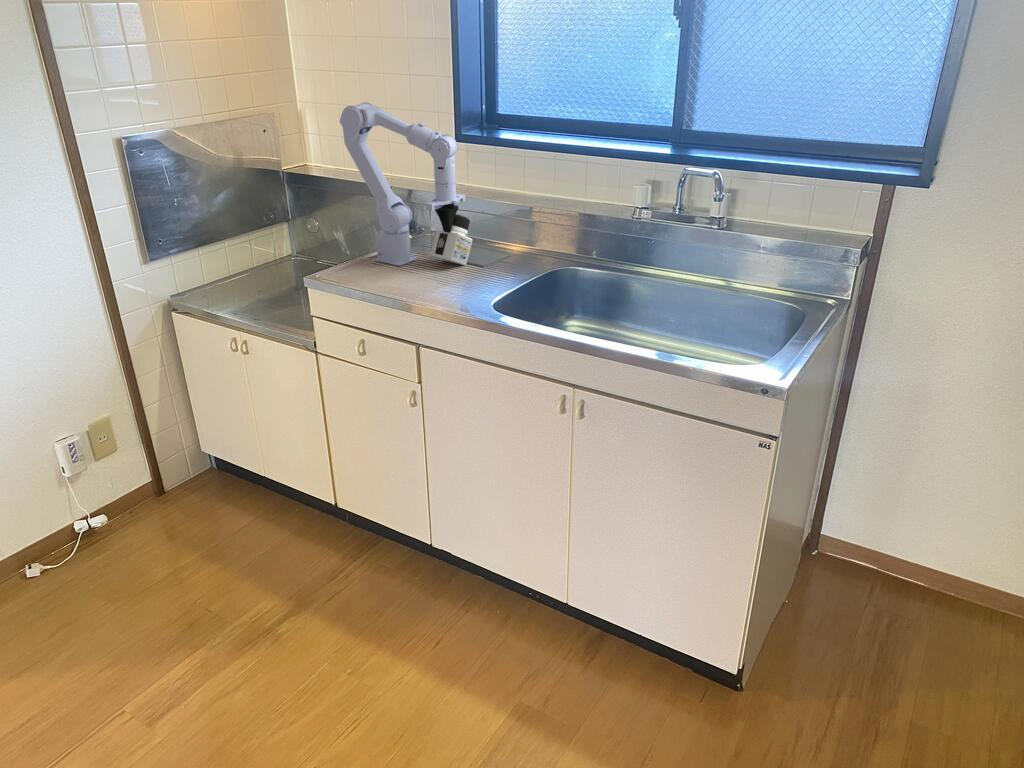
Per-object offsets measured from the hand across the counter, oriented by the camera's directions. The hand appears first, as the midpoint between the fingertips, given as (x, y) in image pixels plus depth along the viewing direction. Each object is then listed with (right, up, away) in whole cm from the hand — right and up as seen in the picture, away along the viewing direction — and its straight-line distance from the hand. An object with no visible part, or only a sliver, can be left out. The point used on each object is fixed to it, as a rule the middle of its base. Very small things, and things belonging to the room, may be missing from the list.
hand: (447, 231), depth 216 cm
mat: (+6, -5, +13) cm, 15 cm away
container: (0, -8, +4) cm, 9 cm away
